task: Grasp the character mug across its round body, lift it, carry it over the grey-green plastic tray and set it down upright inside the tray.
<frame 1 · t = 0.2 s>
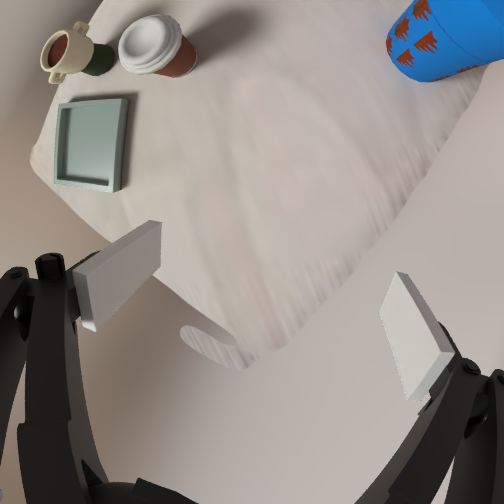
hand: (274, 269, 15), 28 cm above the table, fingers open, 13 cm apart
thermos: (416, 52, 29), on the table
character mug: (103, 61, 37), on the table
coffee cup: (179, 60, 36), on the table
tray: (90, 143, 43), on the table
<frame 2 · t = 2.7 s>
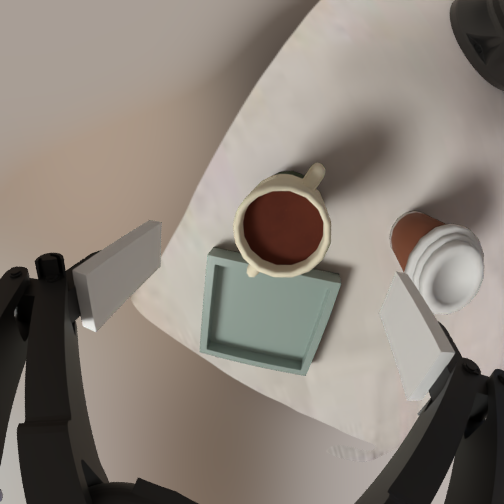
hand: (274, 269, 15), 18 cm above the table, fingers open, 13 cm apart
character mug: (289, 197, 32), on the table
coffee cup: (412, 235, 31), on the table
tray: (264, 313, 38), on the table
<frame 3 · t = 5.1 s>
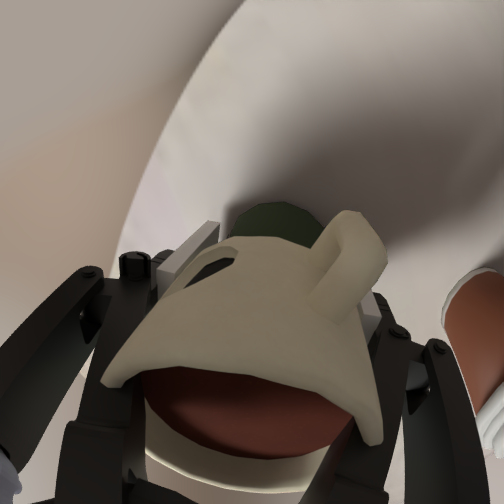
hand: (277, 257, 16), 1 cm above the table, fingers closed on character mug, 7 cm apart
character mug: (278, 248, 18), on the table, touching gripper
coffee cup: (473, 303, 16), on the table
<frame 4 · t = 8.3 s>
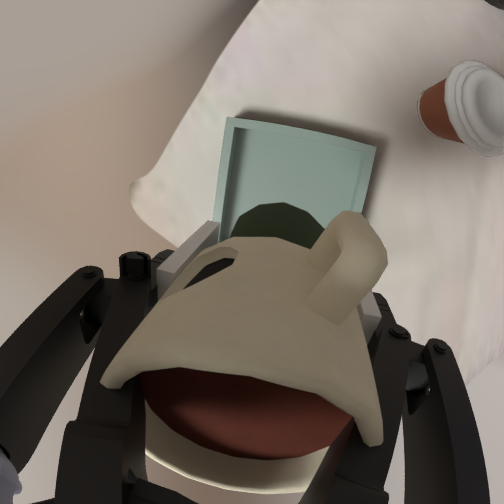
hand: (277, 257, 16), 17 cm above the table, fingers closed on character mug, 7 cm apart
character mug: (278, 249, 17), point 16 cm above the table, touching gripper
coffee cup: (438, 112, 25), on the table
tray: (289, 197, 32), on the table
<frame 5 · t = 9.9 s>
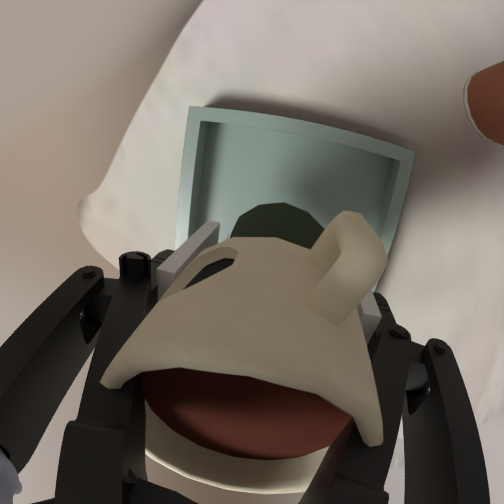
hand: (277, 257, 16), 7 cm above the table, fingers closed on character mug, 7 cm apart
character mug: (278, 249, 17), point 5 cm above the table, touching gripper
coffee cup: (488, 107, 15), on the table
tray: (285, 223, 22), on the table
when the fingers open (4 cm above the table, at t = 11.4 s): character mug drops 2 cm, resting on tray.
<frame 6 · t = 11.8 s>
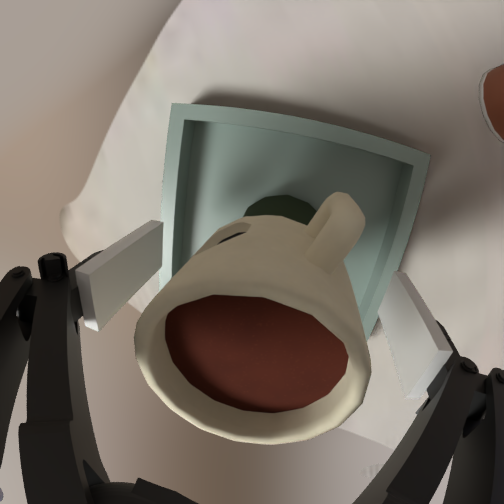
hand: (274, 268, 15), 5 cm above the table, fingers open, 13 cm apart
character mug: (283, 237, 19), resting on tray
tray: (281, 235, 20), on the table
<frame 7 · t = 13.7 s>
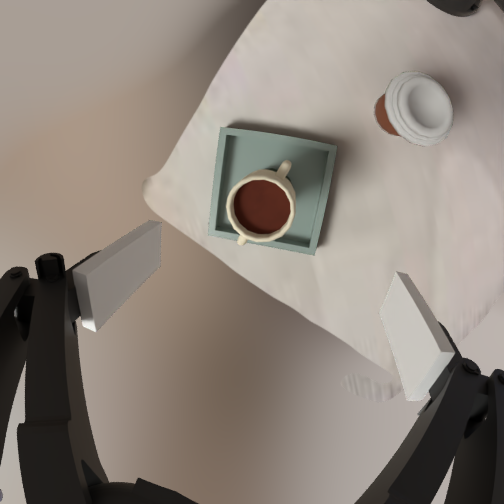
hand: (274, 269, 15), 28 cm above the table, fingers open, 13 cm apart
character mug: (271, 189, 40), resting on tray
coffee cup: (393, 114, 34), on the table
tray: (270, 188, 41), on the table
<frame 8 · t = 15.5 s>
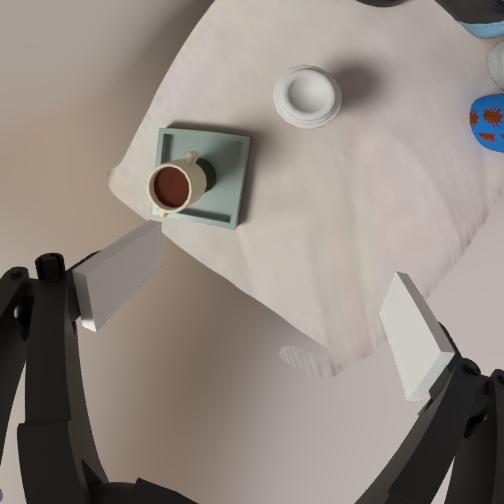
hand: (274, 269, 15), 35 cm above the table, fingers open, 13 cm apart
thermos: (488, 123, 35), on the table
ramekin: (500, 70, 29), on the table
character mug: (200, 175, 48), resting on tray
coffee cup: (305, 105, 42), on the table
tray: (200, 175, 49), on the table
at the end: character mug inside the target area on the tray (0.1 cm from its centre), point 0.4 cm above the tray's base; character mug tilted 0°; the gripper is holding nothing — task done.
